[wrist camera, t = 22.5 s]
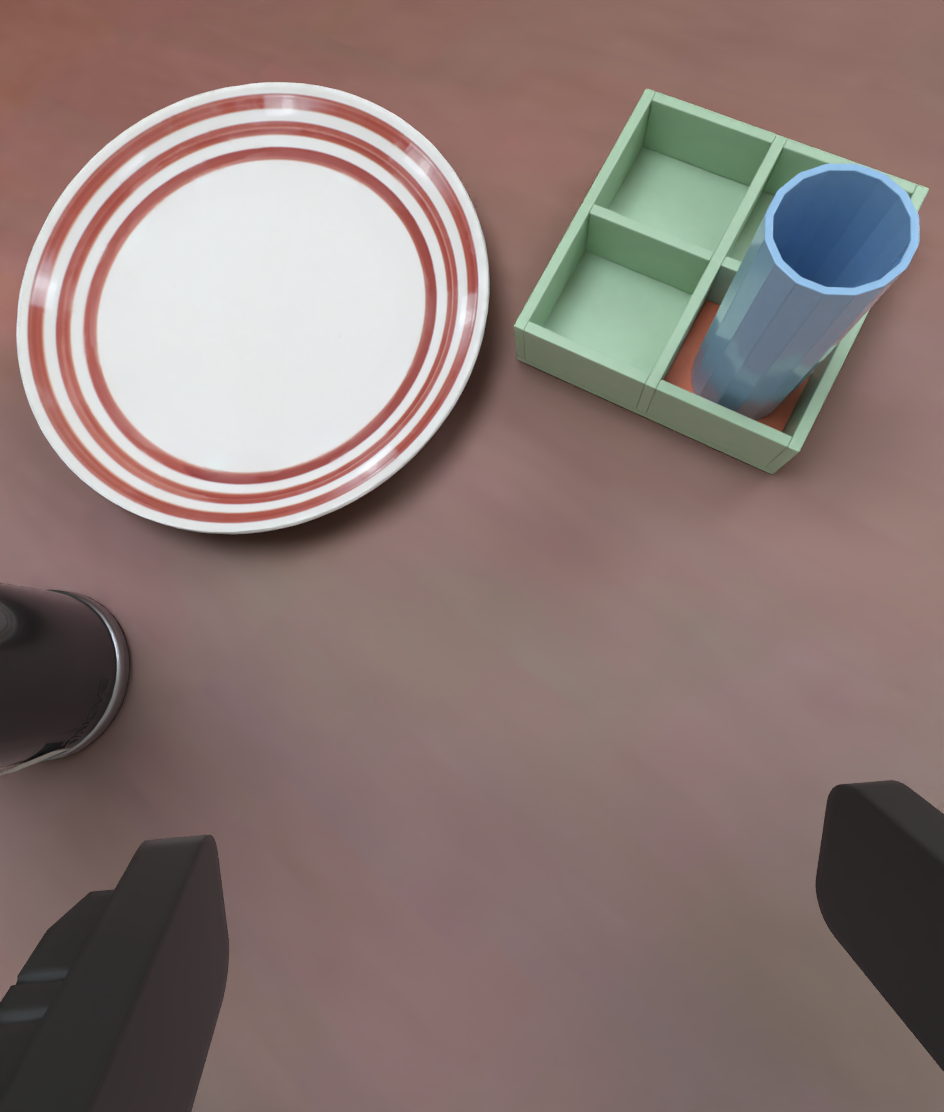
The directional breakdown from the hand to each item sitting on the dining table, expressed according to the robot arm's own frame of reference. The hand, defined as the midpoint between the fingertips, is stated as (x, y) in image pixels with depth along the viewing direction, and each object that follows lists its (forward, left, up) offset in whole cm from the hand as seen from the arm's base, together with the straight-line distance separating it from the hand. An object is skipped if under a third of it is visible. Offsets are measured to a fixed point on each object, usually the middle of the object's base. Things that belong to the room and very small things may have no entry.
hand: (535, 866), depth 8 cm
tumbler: (+1, +21, -25) cm, 33 cm away
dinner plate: (-25, +13, -26) cm, 38 cm away
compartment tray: (-3, +25, -26) cm, 36 cm away
